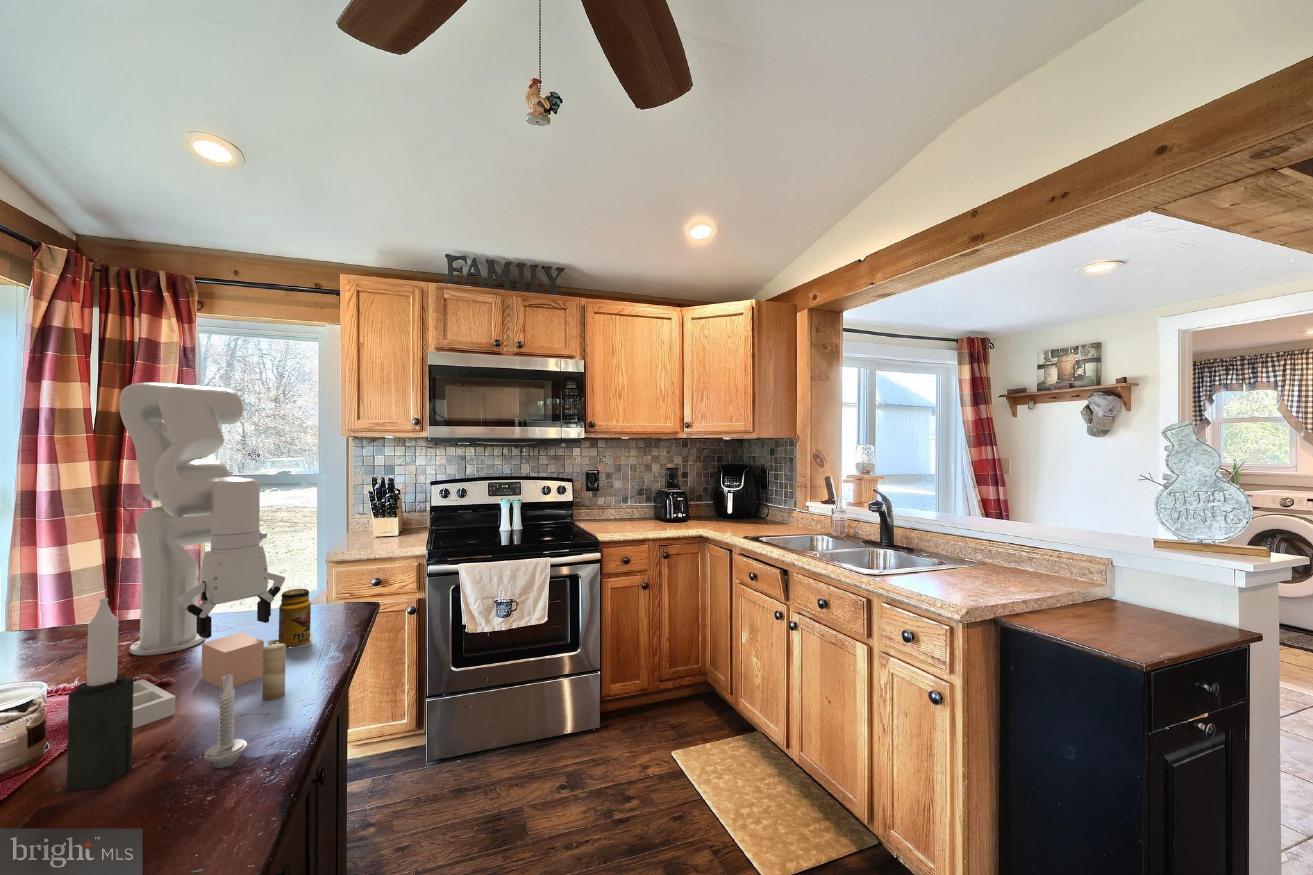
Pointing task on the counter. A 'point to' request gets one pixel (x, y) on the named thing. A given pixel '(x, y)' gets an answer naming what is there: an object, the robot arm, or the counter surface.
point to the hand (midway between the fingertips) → (235, 629)
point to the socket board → (150, 703)
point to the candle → (100, 711)
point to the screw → (226, 730)
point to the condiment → (294, 619)
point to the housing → (232, 659)
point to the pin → (273, 672)
